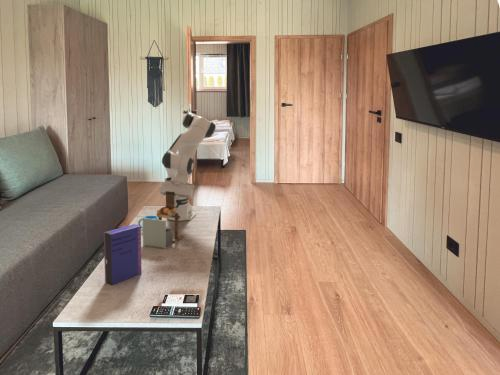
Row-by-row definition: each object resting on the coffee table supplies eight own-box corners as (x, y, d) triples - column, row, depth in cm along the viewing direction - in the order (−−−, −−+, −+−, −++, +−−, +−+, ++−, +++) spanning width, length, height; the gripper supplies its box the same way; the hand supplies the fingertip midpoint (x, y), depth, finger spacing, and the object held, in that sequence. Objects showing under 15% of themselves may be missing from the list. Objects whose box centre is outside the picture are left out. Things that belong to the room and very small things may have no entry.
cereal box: (134, 271, 238) (133, 223, 233) (141, 274, 235) (140, 225, 230) (105, 282, 224) (103, 231, 219) (112, 285, 221) (110, 234, 216)
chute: (164, 214, 291) (164, 190, 288) (177, 216, 288) (177, 191, 285) (156, 218, 282) (155, 193, 279) (169, 220, 279) (169, 195, 276)
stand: (161, 235, 296) (161, 209, 293) (183, 238, 292) (183, 211, 288) (153, 239, 287) (153, 213, 283) (175, 242, 282) (175, 215, 279)
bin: (153, 240, 286) (152, 213, 283) (174, 243, 282) (174, 216, 279) (143, 245, 276) (142, 218, 272) (165, 248, 271) (165, 221, 268)
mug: (159, 228, 309) (158, 216, 307) (155, 232, 301) (155, 219, 299) (140, 227, 310) (140, 215, 308) (136, 231, 302) (136, 218, 300)
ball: (165, 212, 286) (165, 206, 285) (170, 213, 285) (170, 207, 284) (162, 214, 283) (162, 208, 282) (167, 215, 282) (167, 209, 281)
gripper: (197, 187, 295) (189, 206, 288) (166, 183, 301) (158, 202, 294) (194, 181, 290) (186, 200, 283) (162, 177, 296) (154, 197, 289)
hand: (172, 201), depth 288 cm, fingers closed
